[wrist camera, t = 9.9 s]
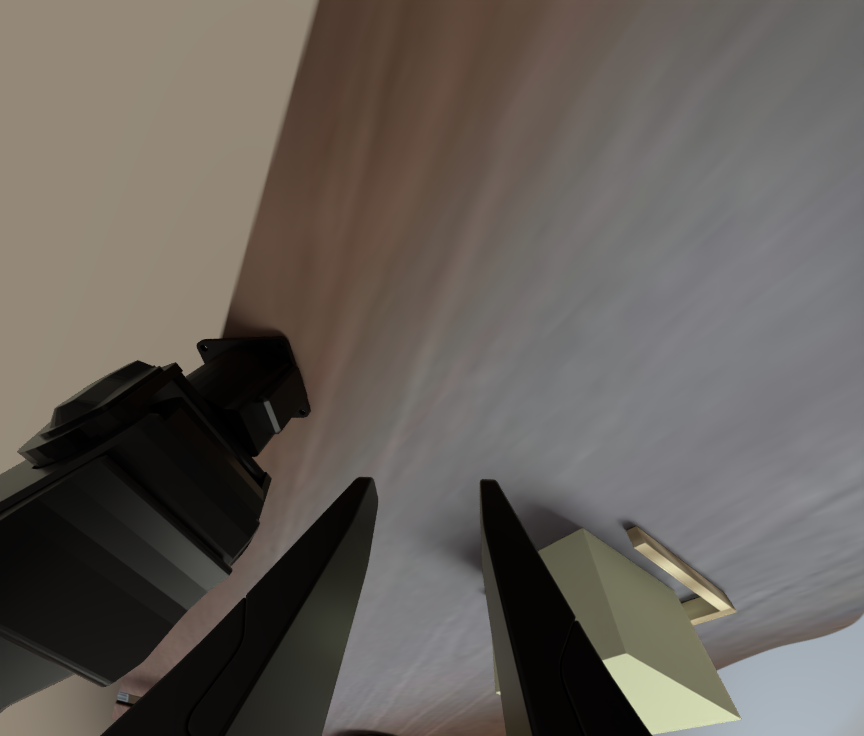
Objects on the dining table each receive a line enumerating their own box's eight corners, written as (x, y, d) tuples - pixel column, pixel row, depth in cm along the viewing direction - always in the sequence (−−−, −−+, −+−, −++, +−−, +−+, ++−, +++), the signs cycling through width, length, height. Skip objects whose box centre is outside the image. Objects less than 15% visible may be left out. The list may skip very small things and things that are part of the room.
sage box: (488, 575, 34) (495, 692, 26) (581, 526, 28) (626, 653, 21) (576, 625, 37) (605, 742, 29) (673, 589, 32) (741, 719, 24)
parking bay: (488, 596, 35) (489, 612, 34) (636, 526, 28) (644, 542, 26) (574, 644, 39) (578, 660, 38) (725, 594, 31) (737, 611, 30)
